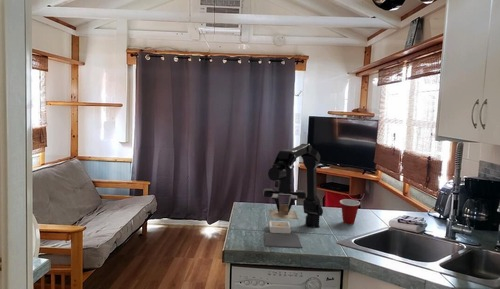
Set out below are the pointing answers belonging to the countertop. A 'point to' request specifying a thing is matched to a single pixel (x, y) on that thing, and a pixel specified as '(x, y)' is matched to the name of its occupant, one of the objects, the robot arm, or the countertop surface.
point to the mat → (282, 240)
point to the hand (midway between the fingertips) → (283, 212)
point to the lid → (283, 212)
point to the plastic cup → (349, 210)
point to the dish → (279, 227)
